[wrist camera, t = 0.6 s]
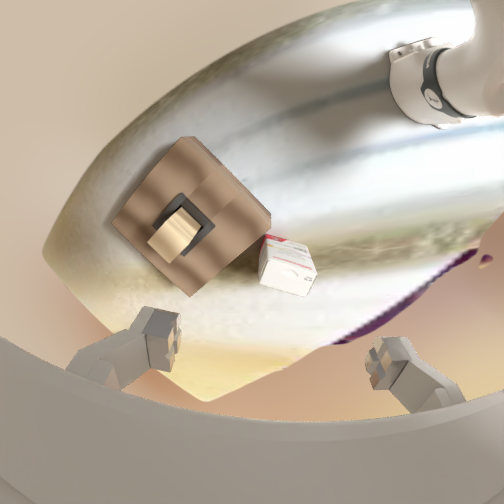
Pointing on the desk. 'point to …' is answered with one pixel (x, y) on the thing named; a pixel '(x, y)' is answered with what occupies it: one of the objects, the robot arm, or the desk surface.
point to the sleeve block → (193, 214)
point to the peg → (174, 234)
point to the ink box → (286, 266)
